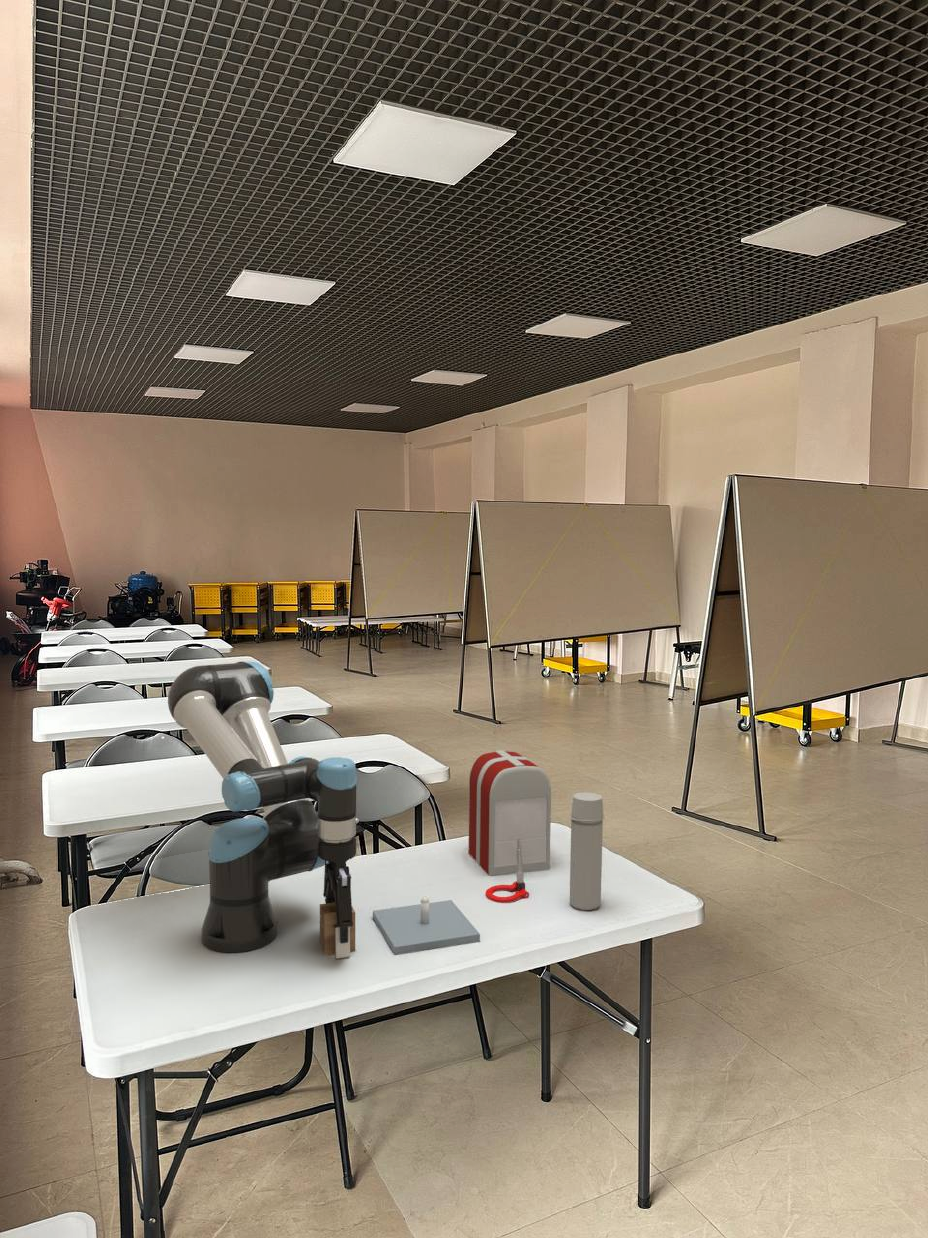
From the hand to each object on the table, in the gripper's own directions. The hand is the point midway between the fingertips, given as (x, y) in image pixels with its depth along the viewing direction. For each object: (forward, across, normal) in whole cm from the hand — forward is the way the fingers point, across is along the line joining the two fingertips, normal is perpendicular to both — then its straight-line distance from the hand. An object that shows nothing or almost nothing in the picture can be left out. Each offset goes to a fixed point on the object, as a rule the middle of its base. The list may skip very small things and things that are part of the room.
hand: (337, 945), depth 176 cm
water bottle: (0, +3, -57) cm, 57 cm away
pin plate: (0, +2, -19) cm, 19 cm away
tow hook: (+1, +13, -42) cm, 44 cm away
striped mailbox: (0, +33, -51) cm, 61 cm away
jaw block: (0, 0, 0) cm, 0 cm away
